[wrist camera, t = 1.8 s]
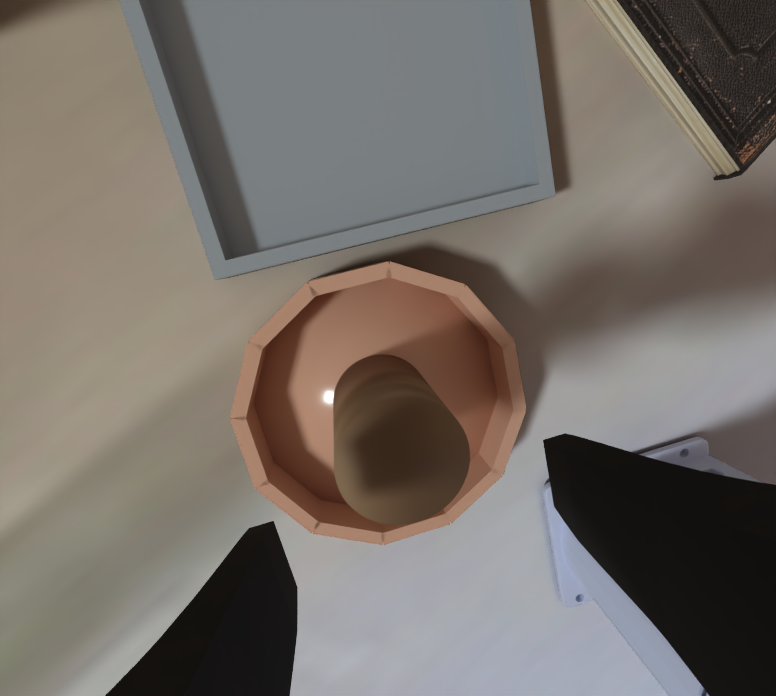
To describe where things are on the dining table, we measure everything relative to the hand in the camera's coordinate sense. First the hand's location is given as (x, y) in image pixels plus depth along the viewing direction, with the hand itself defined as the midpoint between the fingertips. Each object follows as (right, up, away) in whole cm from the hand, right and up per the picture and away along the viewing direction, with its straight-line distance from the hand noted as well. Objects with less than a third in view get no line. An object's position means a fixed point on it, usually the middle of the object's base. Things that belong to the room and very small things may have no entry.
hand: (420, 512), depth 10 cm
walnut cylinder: (-1, +2, +8) cm, 9 cm away
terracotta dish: (-1, +2, +9) cm, 9 cm away
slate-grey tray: (-2, +15, +6) cm, 16 cm away
